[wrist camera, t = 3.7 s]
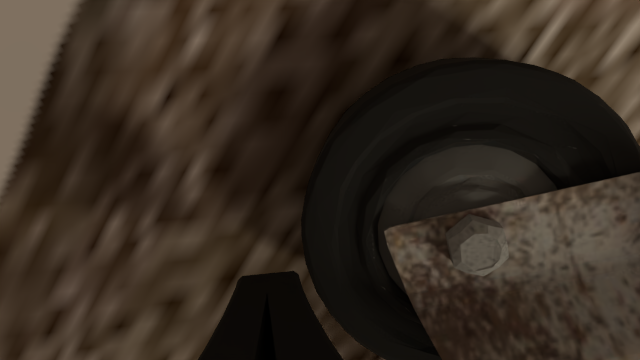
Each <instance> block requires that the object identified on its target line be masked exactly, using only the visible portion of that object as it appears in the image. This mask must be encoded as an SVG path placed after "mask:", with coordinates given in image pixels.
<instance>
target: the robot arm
mask: <svg viewBox="0 0 640 360" xmlns="http://www.w3.org/2000/svg"><path fill="white" fill-rule="evenodd" d="M198 360H343V359H342V357H341V356H340V354H339V353H338V352H337V350H336V349H335V347H334V346H333V344H332V343H331V341H330V339H329V338H328V336H327V335H326V333H325V331H324V330H323V328H322V326H321V324H320V323H319V321H318V319H317V318H316V316H315V314H314V312H313V310H312V308H311V306H310V304H309V302H308V300H307V298H306V296H305V293H304V291H303V288H302V286H301V282H300V279H299V275H298V274H297V273H296V272H294V271H289V272H279V273H269V274H259V275H249V276H242V277H241V278H240V279H239V280H238V282H237V285H236V288H235V290H234V292H233V295H232V297H231V299H230V302H229V304H228V306H227V308H226V310H225V312H224V314H223V316H222V318H221V320H220V322H219V324H218V326H217V328H216V329H215V331H214V333H213V335H212V337H211V339H210V340H209V342H208V344H207V346H206V347H205V349H204V351H203V352H202V354H201V355H200V357H199V359H198Z"/></svg>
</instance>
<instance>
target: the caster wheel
mask: <svg viewBox="0 0 640 360" xmlns="http://www.w3.org/2000/svg"><path fill="white" fill-rule="evenodd" d="M301 226H302V242H303V248H304V255H305V261H306V265H307V268H308V270H309V273H310V276H311V278H312V281H313V284H314V286H315V289H316V292H317V293H318V295H319V296H320V298H321V300H322V301H323V303H324V304H325V306H326V307H327V309H328V310H329V312H330V314H331V315H332V316H333V317H334V318H335V320H336V321H337V322H338V323H339V324H340V325H341V326H342V327H343V328H344V330H345V331H346V332H347V333H348V334H350V335H351V336H352V337H353V338H354V339H355V340H356V341H357V342H359V343H360V344H361V345H363V346H364V347H366V348H367V349H369V350H370V351H372V352H373V353H375V354H377V355H378V356H380V357H382V358H384V359H386V360H640V146H639V145H638V143H637V142H636V140H635V138H634V136H633V134H632V133H631V131H630V129H629V127H628V126H627V124H626V123H625V122H624V121H623V120H622V118H621V117H620V116H619V115H618V114H617V113H616V112H615V111H614V110H612V109H611V108H610V107H609V106H608V105H607V104H606V103H605V102H604V101H603V100H602V99H601V98H600V97H599V96H597V95H596V94H594V93H593V92H591V91H590V90H588V89H587V88H585V87H584V86H582V85H581V84H579V83H578V82H576V81H575V80H573V79H570V78H568V77H566V76H564V75H561V74H559V73H557V72H554V71H551V70H547V69H544V68H541V67H538V66H535V65H530V64H525V63H519V62H513V61H507V60H497V59H485V58H454V59H441V60H437V61H433V62H429V63H425V64H421V65H417V66H415V67H413V68H410V69H408V70H405V71H403V72H401V73H398V74H396V75H393V76H391V77H389V78H387V79H386V80H384V81H383V82H381V83H380V84H379V85H377V86H376V87H374V88H373V89H371V90H370V91H368V92H367V93H365V94H364V95H363V96H362V97H360V98H359V99H358V100H357V101H356V102H355V103H354V104H353V105H352V106H351V107H350V108H349V109H348V110H347V111H346V112H345V113H344V115H343V116H342V118H341V119H340V120H339V122H338V123H337V125H336V126H335V127H334V129H333V130H332V132H331V133H330V135H329V137H328V139H327V141H326V143H325V144H324V146H323V148H322V150H321V152H320V154H319V156H318V158H317V161H316V164H315V167H314V169H313V172H312V175H311V178H310V180H309V184H308V188H307V191H306V195H305V200H304V206H303V212H302V219H301Z"/></svg>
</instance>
